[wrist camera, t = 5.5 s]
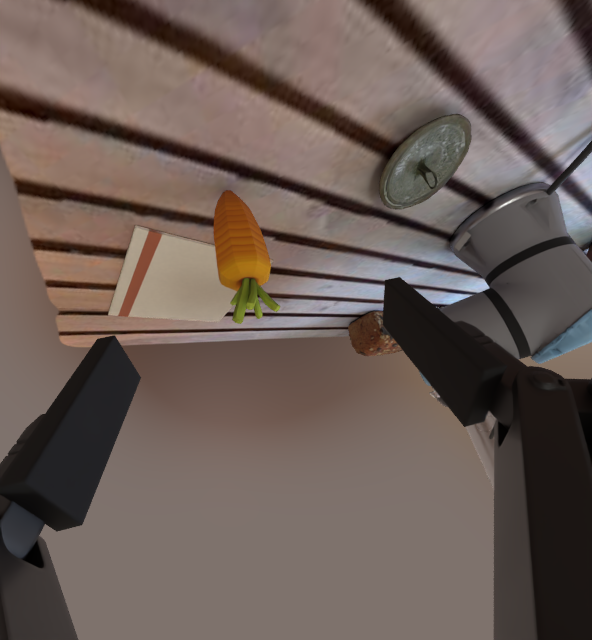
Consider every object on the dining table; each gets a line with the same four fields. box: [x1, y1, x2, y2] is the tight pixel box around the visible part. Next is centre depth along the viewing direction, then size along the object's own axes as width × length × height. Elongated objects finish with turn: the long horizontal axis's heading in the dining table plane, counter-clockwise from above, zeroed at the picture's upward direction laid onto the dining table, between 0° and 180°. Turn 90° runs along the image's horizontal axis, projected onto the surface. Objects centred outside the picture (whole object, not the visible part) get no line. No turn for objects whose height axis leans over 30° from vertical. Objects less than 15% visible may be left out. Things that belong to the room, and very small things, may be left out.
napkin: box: [108, 225, 273, 322], centre depth 42 cm, size 20×18×1 cm
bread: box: [348, 311, 402, 356], centre depth 77 cm, size 19×11×10 cm, turn 52°
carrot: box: [214, 190, 280, 324], centre depth 26 cm, size 5×5×15 cm
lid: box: [379, 114, 471, 209], centre depth 30 cm, size 11×10×5 cm
